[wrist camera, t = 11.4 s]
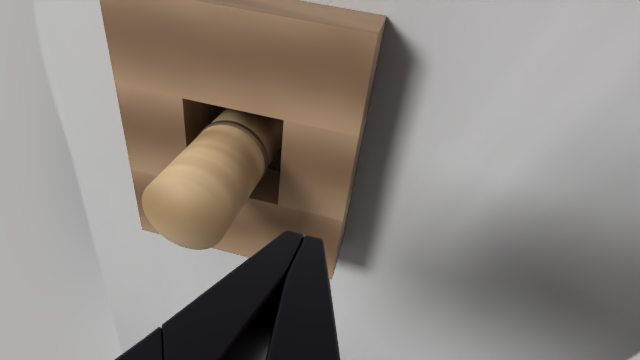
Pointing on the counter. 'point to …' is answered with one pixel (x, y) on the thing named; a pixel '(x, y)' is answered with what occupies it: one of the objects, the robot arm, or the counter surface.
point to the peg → (212, 179)
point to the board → (250, 100)
